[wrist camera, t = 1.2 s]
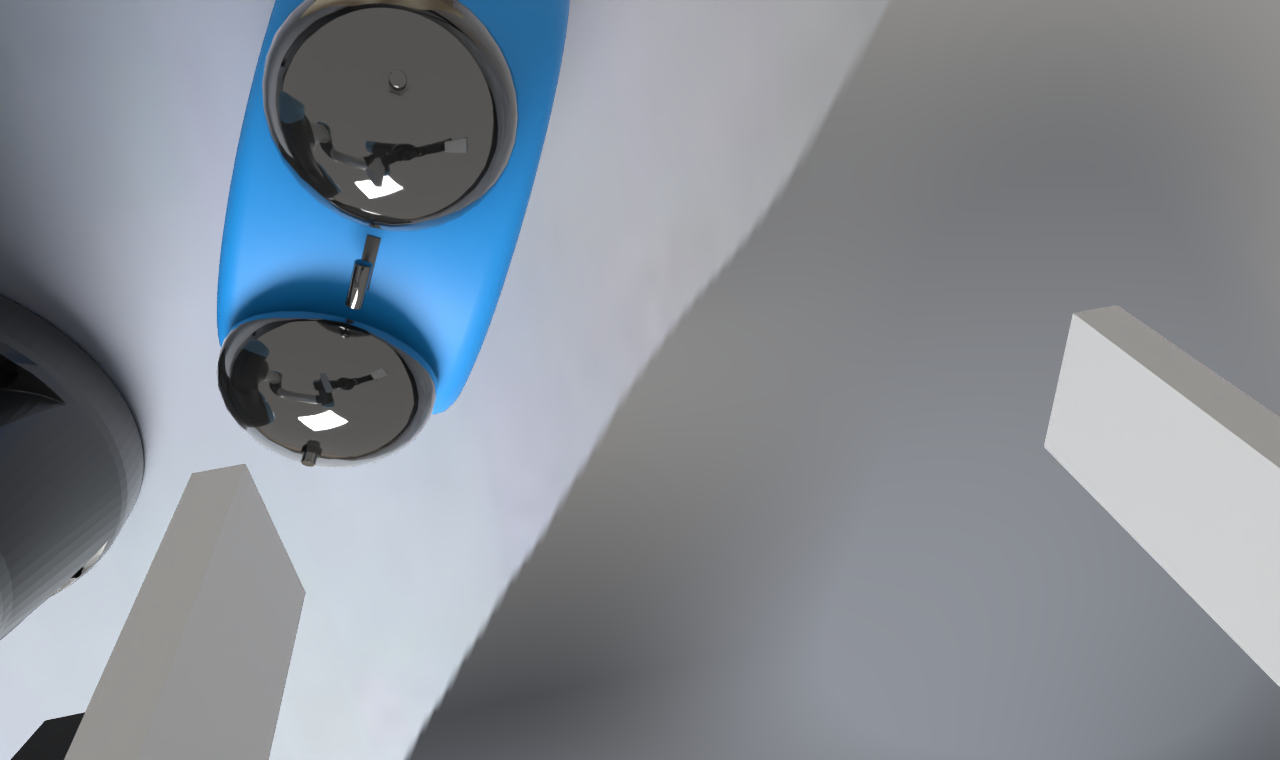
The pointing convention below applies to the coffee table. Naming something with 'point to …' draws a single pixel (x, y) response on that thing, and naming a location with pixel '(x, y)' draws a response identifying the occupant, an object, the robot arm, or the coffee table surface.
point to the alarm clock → (376, 214)
